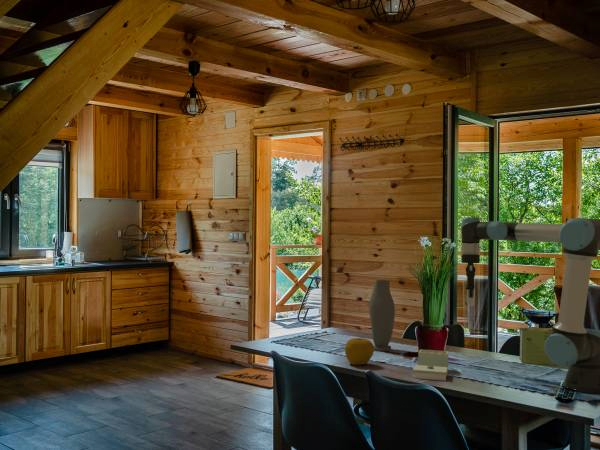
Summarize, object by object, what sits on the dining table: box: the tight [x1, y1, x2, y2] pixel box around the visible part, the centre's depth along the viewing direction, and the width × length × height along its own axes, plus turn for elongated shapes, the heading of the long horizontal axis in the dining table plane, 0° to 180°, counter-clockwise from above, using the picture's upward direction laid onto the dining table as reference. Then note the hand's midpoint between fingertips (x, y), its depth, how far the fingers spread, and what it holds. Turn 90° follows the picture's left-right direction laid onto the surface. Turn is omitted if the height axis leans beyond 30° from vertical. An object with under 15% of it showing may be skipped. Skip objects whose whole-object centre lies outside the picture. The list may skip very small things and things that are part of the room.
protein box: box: [519, 326, 558, 366], centre depth 297 cm, size 10×15×16 cm
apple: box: [344, 337, 375, 366], centre depth 281 cm, size 13×13×11 cm
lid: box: [412, 364, 449, 381], centre depth 259 cm, size 13×10×4 cm
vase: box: [368, 279, 396, 352], centre depth 323 cm, size 13×13×35 cm
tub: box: [417, 349, 449, 368], centre depth 273 cm, size 12×8×8 cm, turn 74°
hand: (470, 304), depth 269 cm, fingers open, 13 cm apart
